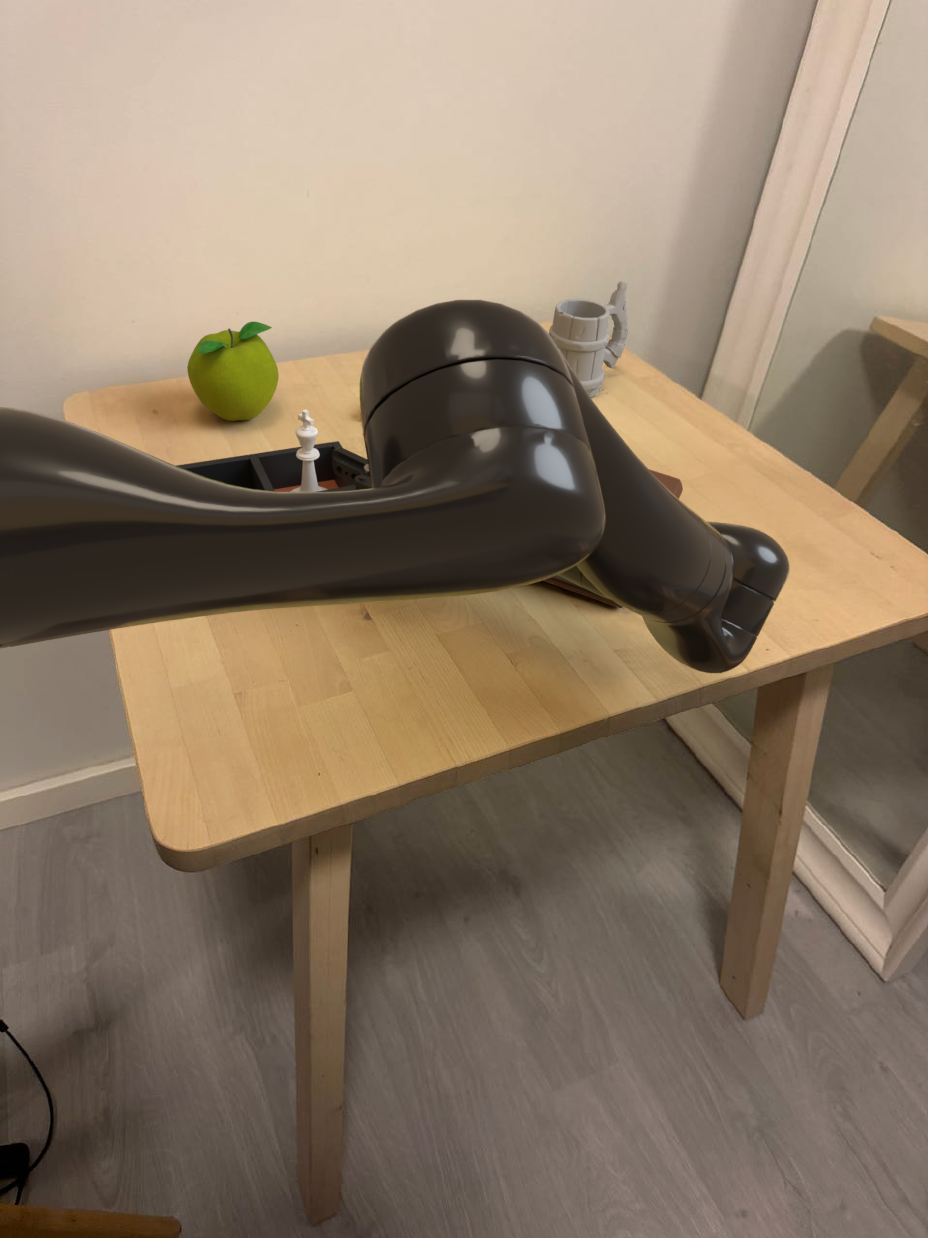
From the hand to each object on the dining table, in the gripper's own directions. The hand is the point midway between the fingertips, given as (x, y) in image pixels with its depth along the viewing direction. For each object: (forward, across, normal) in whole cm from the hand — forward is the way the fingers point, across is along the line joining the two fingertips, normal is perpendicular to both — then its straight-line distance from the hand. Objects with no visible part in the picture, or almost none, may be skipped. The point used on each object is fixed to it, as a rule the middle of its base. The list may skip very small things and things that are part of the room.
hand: (369, 439), depth 77 cm
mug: (+3, -43, +11) cm, 44 cm away
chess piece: (+8, 0, +10) cm, 13 cm away
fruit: (+27, -9, +11) cm, 30 cm away
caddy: (+10, +4, +11) cm, 15 cm away
